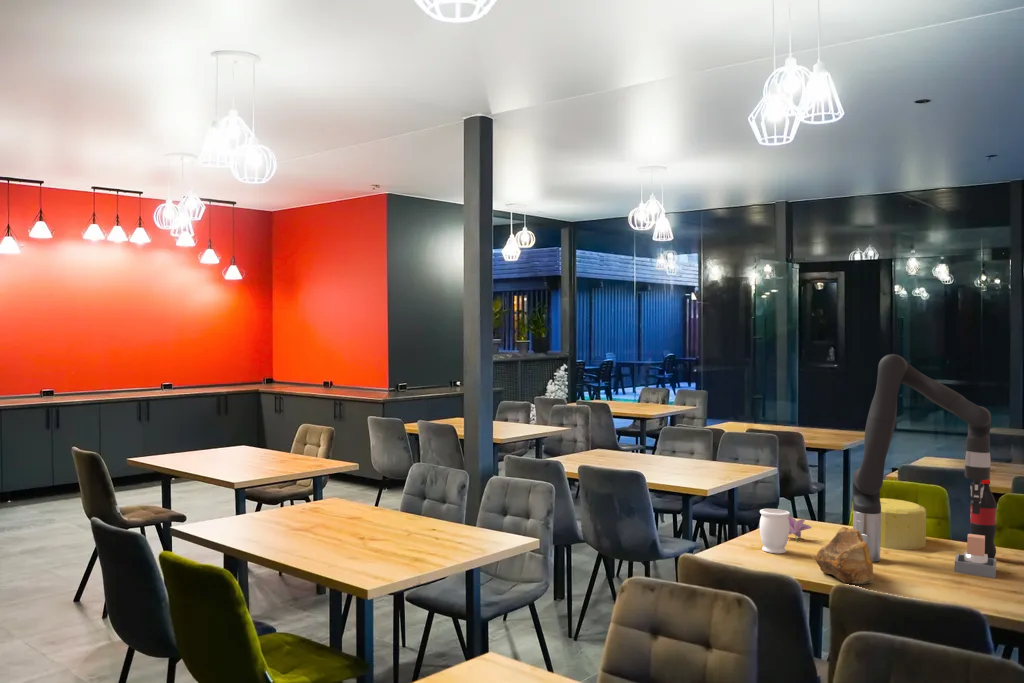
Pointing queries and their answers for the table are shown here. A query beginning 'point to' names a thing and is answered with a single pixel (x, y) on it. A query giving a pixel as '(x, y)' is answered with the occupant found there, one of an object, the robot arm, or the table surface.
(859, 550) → the rough brown rock
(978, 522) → the cola bottle
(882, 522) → the cheese
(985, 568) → the tote
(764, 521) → the jar
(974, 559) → the tin
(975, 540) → the pink block
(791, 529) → the lily
